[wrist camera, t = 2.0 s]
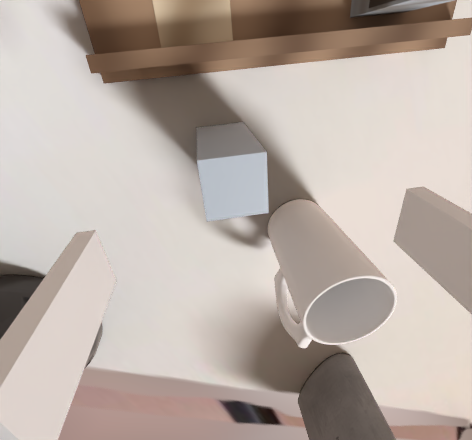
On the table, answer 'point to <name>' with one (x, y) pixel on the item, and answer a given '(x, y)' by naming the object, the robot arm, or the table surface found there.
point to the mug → (325, 278)
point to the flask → (341, 404)
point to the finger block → (231, 171)
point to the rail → (256, 33)
